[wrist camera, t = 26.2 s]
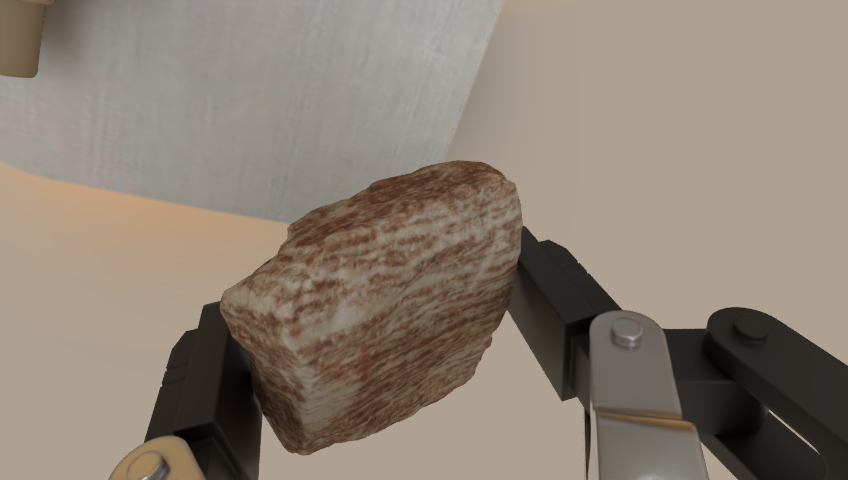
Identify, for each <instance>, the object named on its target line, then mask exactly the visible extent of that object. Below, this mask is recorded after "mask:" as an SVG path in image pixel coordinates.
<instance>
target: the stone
mask: <svg viewBox="0 0 848 480" xmlns="http://www.w3.org/2000/svg"><path fill="white" fill-rule="evenodd" d="M522 225H523V222H522V213H521V204H520V200H519V196H518V193H517V190H516V186H515V184H514V183H513V182H511V181H510V180H508V179H507V178H506V177H505V176H504V175H503V174H502V173H501V172H499V171H498V170H496V169H494V168H493V167H491V166H490V165H487V164H485V163H482V162H471V161H459V160H458V161H451V162H445V163H439V164H434V165H430V166H426V167H422V168H420V169H419V170H417V171H415V172H413V173H411V174H406V175H401V176H396V177H391V178H387V179H383V180H379V181H377V182H374V183H372V184H371V185H370V186H369V187H368V188H367V189H365V190H363V191H361V192H360V193H358V194H356V195H354V196H353V197H351V198H349V199H345V200H340V201H338V202H336V203H333V204H330V205H326V206H322V207H320V208H317V209H315V210H312V211H311V212H309V213H308V214H307V215H305V216H304V217H302V218H301V219H299V220H297V221H295V222H294V223H292V224H291V225H290V226H289V227H288V238H287V240H286V241H285V242H284V243H283V244H282V245H281V247H280V250H279V251H278V254H277V255H276V256H275V257H273V258H272V259H270V260H269V261H267V262H266V263H265V264H263V265H262V266H261V267H260V268H258V269H257V270H256V271H255V272H254V273H253V274H252V275H251V276H248V277H247V278H245V279H243V280H242V281H240V282H239V283H237V284H236V285H234V286H233V287H231V288H229V289H227V290H225V291H224V293H223V294H222V298H221V303H220V312H221V314H222V316H223V317H224V319H225V321H226V323H227V325H228V327H229V329H230V332H231V335H232V337H233V338H234V339H236V340H237V341H238V342H239V343H240V344H241V345H242V347H243V348H245V350H246V353H247V356H248V358H249V364H250V372H251V384H252V388H253V391H254V394H255V396H256V398H257V399H258V401H259V403H260V407H261V410H262V412H263V415H264V416H265V417H266V419H267V421H268V422H269V424H270V425H271V427H272V429H273V430H274V432H275V434H276V436H277V437H278V439H279V440H280V442H281V443H282V445H283V446H284V448H285V449H286V450H287V451H288V452H290V453H298V454H299V455H310V454H312V453H314V452H316V451H318V450H320V449H322V448H326V447H329V446H331V445H332V444H334V443H343V442H347V441H354V440H359V439H362V438H365V437H367V436H369V435H371V434H374V433H377V432H379V431H381V430H383V429H385V428H387V427H388V426H390V425H392V424H394V423H396V422H400V421H402V420H405V419H407V418H409V417H411V416H413V415H414V414H415V413H416V412H417V411H419V410H420V409H421V408H422V407H425V406H428V405H430V404H432V403H435V402H437V401H439V400H440V399H442V398H444V397H445V396H446V395H448V394H449V393H450V392H452V391H453V390H454V389H455V388H457V387H460V386H462V385H463V384H465V383H466V382H467V381H468V380H470V379H471V378H472V376H473V375H474V373H475V369H476V367H477V364H478V363H479V362H480V360H481V357H482V355H483V353H484V351H485V350H486V349H487V348H488V347H489V346H490V345H491V342H492V333H493V332H494V331H495V330H496V329H497V328H498V326H499V325H500V323H501V320H502V318H503V316H504V314H505V312H506V310H507V309H508V306H509V303H510V299H511V293H512V290H513V285H514V275H515V272H516V269H517V261H518V258H519V255H520V252H521V234H522Z"/></svg>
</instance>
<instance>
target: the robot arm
mask: <svg viewBox="0 0 848 480" xmlns="http://www.w3.org/2000/svg"><path fill="white" fill-rule="evenodd" d="M220 303H221V301H218V302H214V303H210V304H206V305H204V307H203V309H202V313H201V317H200V321H199V325H198V329H194V330H190V331H186V332H185V333H184V335H183V336H182V337H181V338H180V340H179V341H178V342H177V344H176V345H175V346H174V348H173V349H172V351H171V354H170V357H169V361H168V364H167V367H166V368H167V371H166V372H165V374H164V378H163V381H162V387H160V391H159V394H158V397H157V401H156V404H155V407H154V411H153V414H152V418H151V421H150V424H149V427H148V431H147V434H146V437H145V441H144V443H143V444H142V445H140V446H138V447H137V448H136V449H134V450H133V451H131V452H130V453H129V454H128V455H127V456H126V457H124V458H123V460H122V461H121V462H120V463H119V464H118V465H117V466H116V468H115V469H114V471H113V472H112V474H111V475H110V477H109V479H108V480H258V475H259V459H260V458H259V457H260V443H261V428H262V410H261V407H260V403H259V401H258V399H257V398H256V396H255V394H254V391H253V388H252V384H251V372H250V364H249V358H248V356H247V353H246V350H245V348H243V347H242V345H241V344H240V343H239V342H238V341H237V340H236V339H234V338H233V337H232V335H231V332H230V329H229V327H228V325H227V323H226V321H225V319H224V317H223V316H222V314H221V312H220ZM507 310H508V312H509V313H510V315H511V317H512V318H513V320H514V322H515V323H516V325H517V327H518V329H519V330H520V332H521V334H522V335H523V337H524V339H525V340H526V342H527V344H528V345H529V347H530V349H531V350H532V352H533V354H534V355H535V357H536V359H537V360H538V362H539V364H540V365H541V367H542V369H543V371H544V372H545V374H546V376H547V377H548V379H549V380H550V382H551V384H552V386H553V387H554V389H555V391H556V392H557V394H558V396H559V397H560V399H561V401H565V400H568V399H572V398H575V397H578V398H579V400H580V402H581V403H582V405H583V407H584V412H583V434H584V477H585V479H584V480H709V476H708V472H707V468H706V463H705V460H704V456H703V451H702V447H701V443H700V441H701V442H702V443H703V444H704V445H705V446H706V447H707V448H708V449H709V450H710V451H711V452H712V453H713V454H714V455H715V457H717V459H718V460H719V461H720V462H721V463H722V464H723V465H724V466H725V467H726V468H727V469H728V470H729V471H730V472H731V473H732V474H733V475H734V476H735V477H736V478H737V479H738V480H848V366H847V365H846V364H844V363H843V362H841V361H840V360H838V359H836V358H835V357H834V356H832V355H831V354H829V353H827V352H826V351H824V350H823V349H821V348H820V347H818V346H817V345H815V344H814V343H812V342H811V341H809V340H808V339H806V338H805V337H803V336H802V335H800V334H799V333H797V332H796V331H794V330H793V329H791V328H789V327H788V326H787V325H785V324H783V323H782V322H780V321H779V320H777V319H776V318H774V317H772V316H770V315H768V314H766V313H763V312H760V311H757V310H753V309H747V308H740V307H731V308H724V309H721V310H719V311H716V312H714V313H713V314H712V315H711V316H710V318H709V320H708V323H707V327H706V329H662V328H661V327H660V326H659V325H658V324H657V323H655V321H653V320H652V319H650V318H649V317H647V316H645V315H643V314H639V313H637V312H633V311H626V310H622V309H621V308H620V307H619V306H618V305H617V304H616V303H615V301H614V300H613V299H612V298H611V297H610V296H609V295H608V294H607V293H606V292H605V290H604V289H603V288H602V287H601V286H600V285H599V284H598V283H597V282H596V281H595V280H594V278H593V277H592V276H591V275H590V274H587V271H586V270H585V269H584V267H583V266H582V265H581V264H580V263H578V262H577V260H576V259H575V258H574V257H573V255H572V254H571V253H570V252H569V251H568V250H567V249H566V248H564V247H562V246H560V245H558V244H556V243H554V242H552V241H550V240H545V241H541V242H538V241H537V239H536V238H535V237H534V236H533V235H532V234H531V232H530V231H529V230H528V229H527V228H526V227H525V226H522V234H521V252H520V255H519V258H518V261H517V269H516V272H515V275H514V285H513V290H512V293H511V299H510V303H509V306H508V309H507ZM769 409H770V410H771V411H772V412H773V413H774V414H776V415H777V416H778V417H779V418H780V419H782V420H783V421H784V422H785V423H786V424H788V425H789V426H790V427H791V428H792V429H794V430H795V431H796V432H797V433H798V434H799V435H801V436H802V437H803V438H804V439H805V440H807V441H808V442H809V443H810V444H811V445H812V446H813V447H814V448H815V449H816V450H817V451H818V453H819V454H818V453H817V452H816V451H815V450H814V449H812V448H811V447H810V446H809V445H808V444H806V443H805V442H804V441H803V440H802V439H800V438H799V437H798V436H797V435H796V434H795V433H793V432H792V431H791V430H790V429H789V428H787V427H786V426H785V425H784V424H782V423H781V422H780V421H779V420H778V419H777V418H776V417H774V416H773V415H772V414H771V413H770V412H769Z"/></svg>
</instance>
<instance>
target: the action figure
mask: <svg viewBox="0 0 848 480" xmlns="http://www.w3.org/2000/svg"><path fill="white" fill-rule="evenodd" d="M54 2H55V0H0V75H4V76H11V77H21V78H32V77H35V75H36V74H37V72H38V62H39V54H40V46H41V38H42V30H43V23H44V16H45V10H46V4H54Z"/></svg>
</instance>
